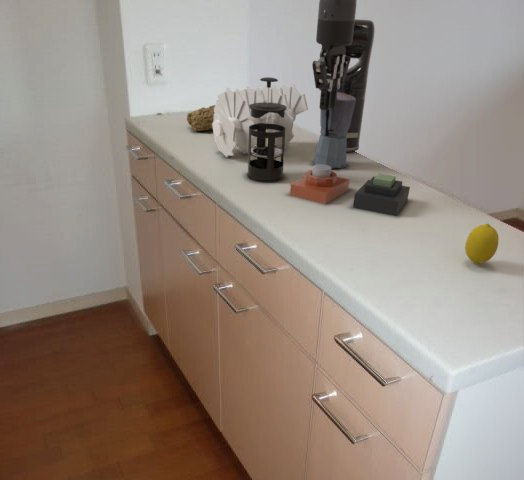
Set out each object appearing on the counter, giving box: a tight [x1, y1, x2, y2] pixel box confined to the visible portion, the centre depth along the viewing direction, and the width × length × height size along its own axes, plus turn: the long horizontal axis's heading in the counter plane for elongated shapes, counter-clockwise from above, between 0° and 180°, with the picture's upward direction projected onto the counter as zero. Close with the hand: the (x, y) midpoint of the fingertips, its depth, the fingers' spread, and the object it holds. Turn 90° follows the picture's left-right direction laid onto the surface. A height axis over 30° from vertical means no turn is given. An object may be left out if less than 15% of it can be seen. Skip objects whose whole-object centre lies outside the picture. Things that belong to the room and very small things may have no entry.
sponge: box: [186, 104, 216, 132], centre depth 178 cm, size 13×8×20 cm
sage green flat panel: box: [373, 173, 397, 188], centre depth 125 cm, size 4×4×2 cm
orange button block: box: [289, 169, 350, 205], centre depth 131 cm, size 12×10×4 cm
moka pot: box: [313, 85, 356, 169], centre depth 145 cm, size 10×15×20 cm, turn 161°
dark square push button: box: [352, 176, 411, 217], centre depth 126 cm, size 11×10×5 cm
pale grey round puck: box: [311, 164, 332, 178], centre depth 130 cm, size 4×4×2 cm
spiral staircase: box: [212, 83, 309, 159], centre depth 154 cm, size 18×18×25 cm
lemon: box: [464, 223, 499, 265], centre depth 101 cm, size 6×6×8 cm
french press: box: [246, 76, 287, 184], centre depth 135 cm, size 12×9×23 cm
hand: (327, 108), depth 122 cm, fingers closed
